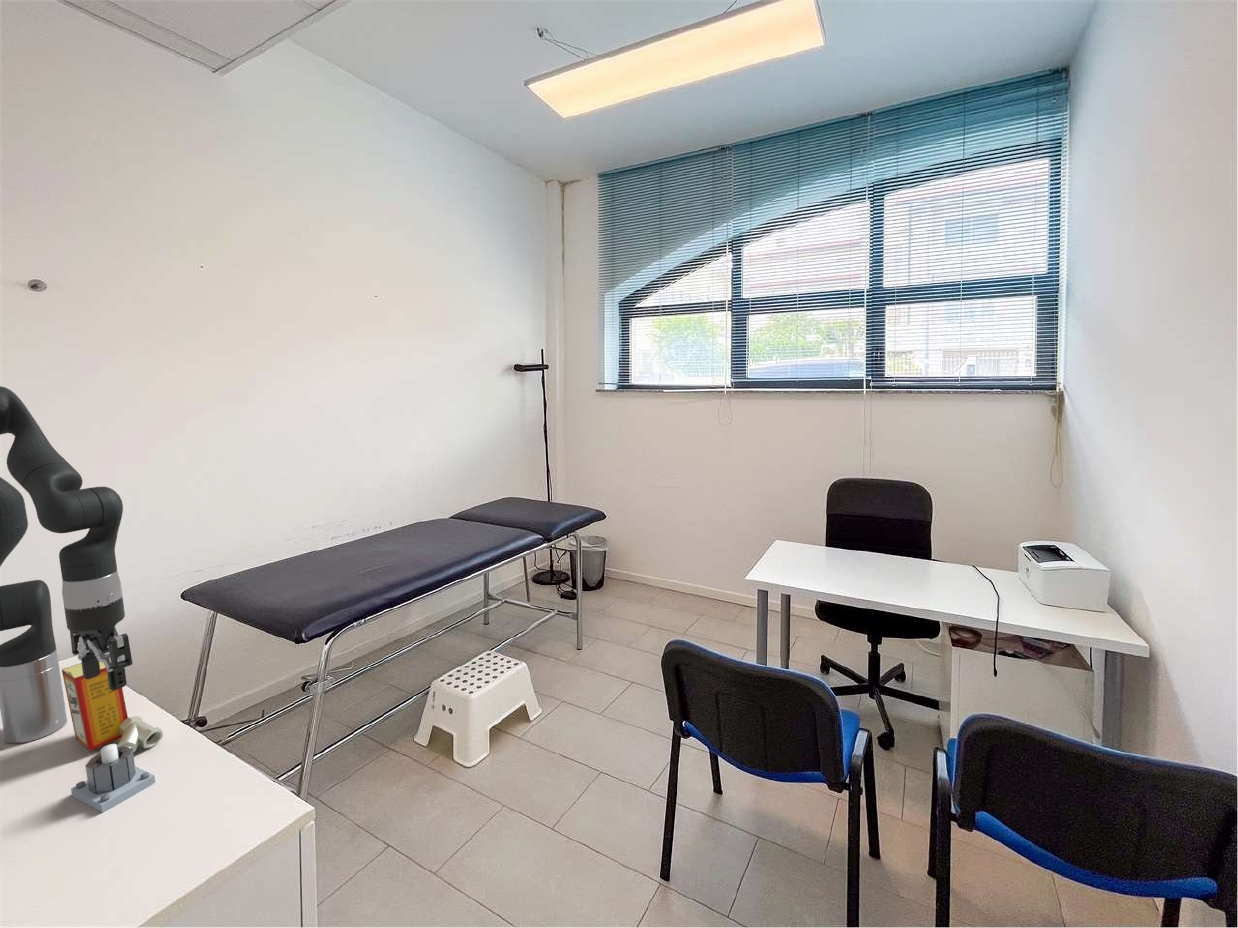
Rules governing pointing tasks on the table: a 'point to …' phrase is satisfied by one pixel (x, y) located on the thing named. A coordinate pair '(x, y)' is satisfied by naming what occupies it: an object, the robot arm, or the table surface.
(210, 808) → the table surface
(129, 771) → the hub
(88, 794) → the mounting base with peg
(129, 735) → the pipe fitting
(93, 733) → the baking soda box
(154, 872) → the table surface
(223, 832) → the table surface
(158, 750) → the table surface
